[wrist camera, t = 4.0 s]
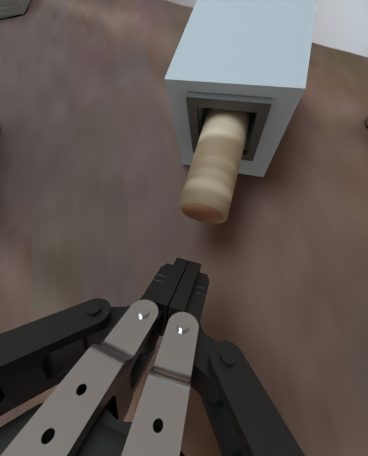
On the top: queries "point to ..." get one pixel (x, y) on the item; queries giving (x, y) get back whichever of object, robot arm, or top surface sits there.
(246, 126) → the peg
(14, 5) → the skincare box
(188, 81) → the block
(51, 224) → the top surface
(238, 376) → the robot arm
